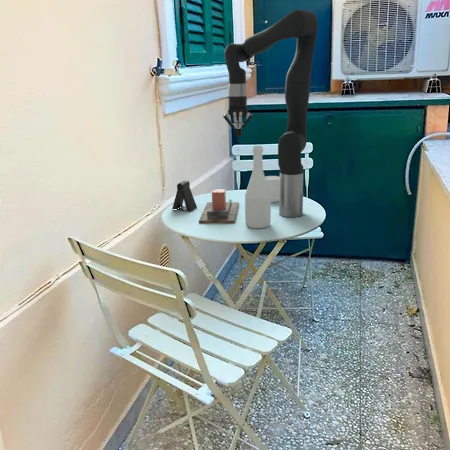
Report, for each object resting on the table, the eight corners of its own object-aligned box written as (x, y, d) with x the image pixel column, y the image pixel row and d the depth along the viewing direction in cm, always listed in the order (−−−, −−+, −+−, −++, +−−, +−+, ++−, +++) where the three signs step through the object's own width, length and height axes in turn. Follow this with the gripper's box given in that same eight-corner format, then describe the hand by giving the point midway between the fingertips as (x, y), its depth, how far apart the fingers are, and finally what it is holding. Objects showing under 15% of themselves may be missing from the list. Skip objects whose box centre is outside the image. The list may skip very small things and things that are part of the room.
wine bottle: (247, 220, 174) (246, 144, 164) (271, 221, 172) (272, 144, 162) (243, 228, 165) (243, 148, 155) (269, 229, 163) (270, 148, 154)
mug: (252, 200, 202) (252, 178, 198) (260, 196, 208) (260, 174, 205) (276, 203, 196) (276, 180, 192) (283, 198, 203) (284, 176, 199)
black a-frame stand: (197, 208, 192) (195, 181, 188) (190, 212, 187) (189, 184, 183) (178, 206, 196) (177, 179, 192) (172, 210, 190) (170, 182, 186)
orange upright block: (226, 210, 183) (225, 189, 181) (224, 213, 179) (224, 192, 176) (214, 210, 184) (213, 189, 181) (212, 213, 179) (211, 192, 176)
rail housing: (238, 204, 196) (238, 195, 194) (234, 223, 171) (234, 213, 170) (207, 204, 197) (207, 195, 196) (198, 223, 172) (198, 213, 171)
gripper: (220, 95, 182) (222, 138, 187) (253, 95, 180) (253, 138, 186) (222, 95, 189) (223, 136, 194) (253, 94, 187) (253, 135, 193)
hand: (238, 137), depth 190 cm, fingers closed
